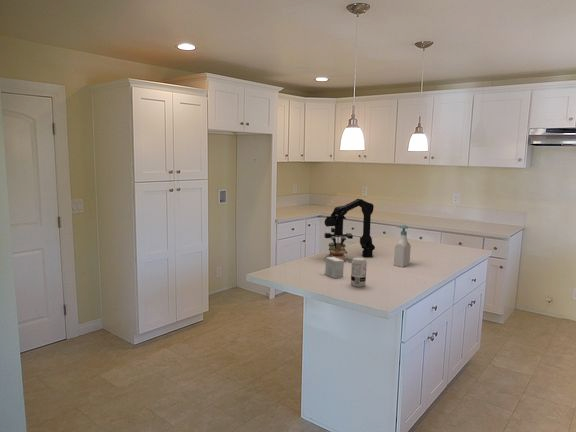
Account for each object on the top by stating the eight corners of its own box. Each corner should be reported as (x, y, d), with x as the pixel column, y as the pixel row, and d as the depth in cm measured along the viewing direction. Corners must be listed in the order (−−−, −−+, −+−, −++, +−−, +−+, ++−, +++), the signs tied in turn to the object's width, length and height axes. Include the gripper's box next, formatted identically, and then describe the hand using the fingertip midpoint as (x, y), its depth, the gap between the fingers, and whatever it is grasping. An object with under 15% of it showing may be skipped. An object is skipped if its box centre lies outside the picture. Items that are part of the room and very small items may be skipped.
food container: (344, 256, 306) (345, 242, 304) (345, 258, 300) (345, 244, 298) (327, 255, 307) (328, 241, 306) (327, 257, 301) (328, 243, 299)
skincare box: (343, 277, 252) (344, 260, 250) (334, 278, 248) (335, 261, 247) (333, 272, 261) (334, 256, 259) (324, 274, 257) (325, 257, 256)
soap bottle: (398, 262, 292) (400, 223, 288) (409, 264, 287) (412, 224, 283) (391, 265, 283) (393, 225, 279) (402, 267, 278) (405, 226, 274)
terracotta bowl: (342, 260, 294) (343, 253, 293) (344, 263, 285) (345, 256, 284) (329, 259, 294) (330, 253, 293) (331, 263, 285) (331, 256, 284)
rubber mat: (362, 259, 296) (362, 259, 296) (366, 264, 284) (366, 263, 284) (345, 259, 296) (345, 258, 296) (348, 263, 284) (348, 263, 284)
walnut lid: (344, 249, 294) (344, 243, 293) (347, 253, 283) (347, 246, 282) (328, 249, 294) (329, 242, 293) (330, 253, 283) (331, 246, 282)
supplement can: (349, 282, 241) (350, 257, 239) (363, 282, 241) (364, 257, 239) (352, 287, 233) (353, 260, 231) (367, 287, 233) (368, 260, 231)
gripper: (350, 223, 294) (349, 245, 296) (323, 223, 294) (323, 245, 296) (353, 226, 283) (352, 249, 285) (325, 226, 283) (324, 248, 285)
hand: (337, 248), depth 288 cm, fingers closed on walnut lid, 3 cm apart
